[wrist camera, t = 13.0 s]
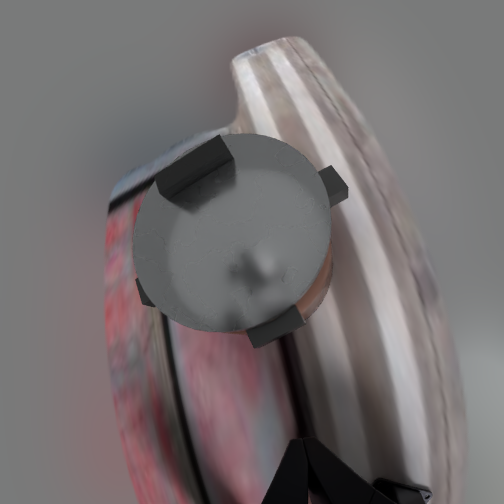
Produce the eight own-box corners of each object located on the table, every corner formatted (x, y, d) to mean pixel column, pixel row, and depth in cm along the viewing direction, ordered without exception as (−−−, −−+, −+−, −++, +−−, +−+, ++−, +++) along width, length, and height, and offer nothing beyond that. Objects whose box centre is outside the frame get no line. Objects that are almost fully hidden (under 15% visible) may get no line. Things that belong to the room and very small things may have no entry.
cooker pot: (383, 289, 21) (405, 262, 13) (216, 376, 22) (163, 386, 15) (306, 172, 26) (291, 113, 19) (168, 252, 28) (116, 221, 20)
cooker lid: (373, 263, 14) (379, 252, 12) (177, 365, 15) (158, 367, 13) (268, 115, 19) (261, 96, 17) (126, 204, 20) (110, 193, 18)
